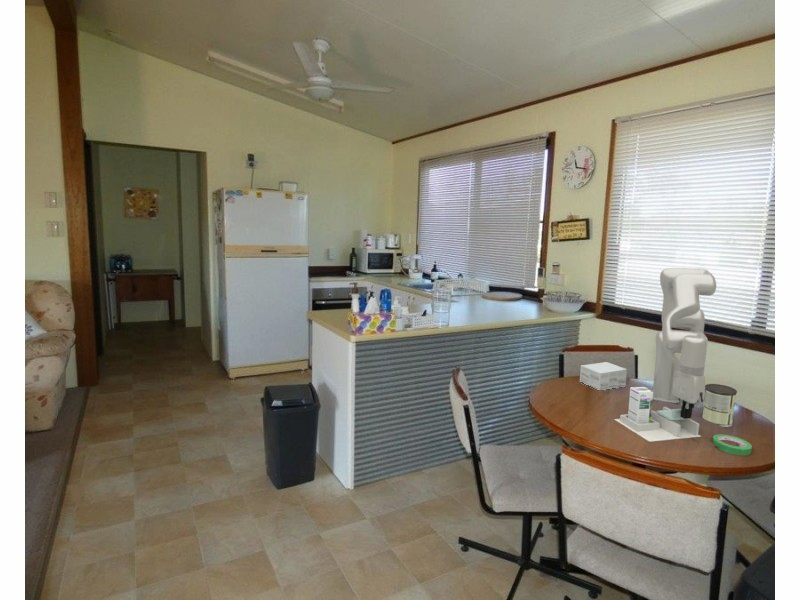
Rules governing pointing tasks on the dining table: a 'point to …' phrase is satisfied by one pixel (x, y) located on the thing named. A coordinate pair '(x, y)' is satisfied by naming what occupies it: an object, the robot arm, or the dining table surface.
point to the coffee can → (719, 404)
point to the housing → (662, 427)
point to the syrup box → (640, 405)
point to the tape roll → (742, 450)
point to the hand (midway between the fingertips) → (685, 417)
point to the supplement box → (603, 375)
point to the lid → (671, 414)
